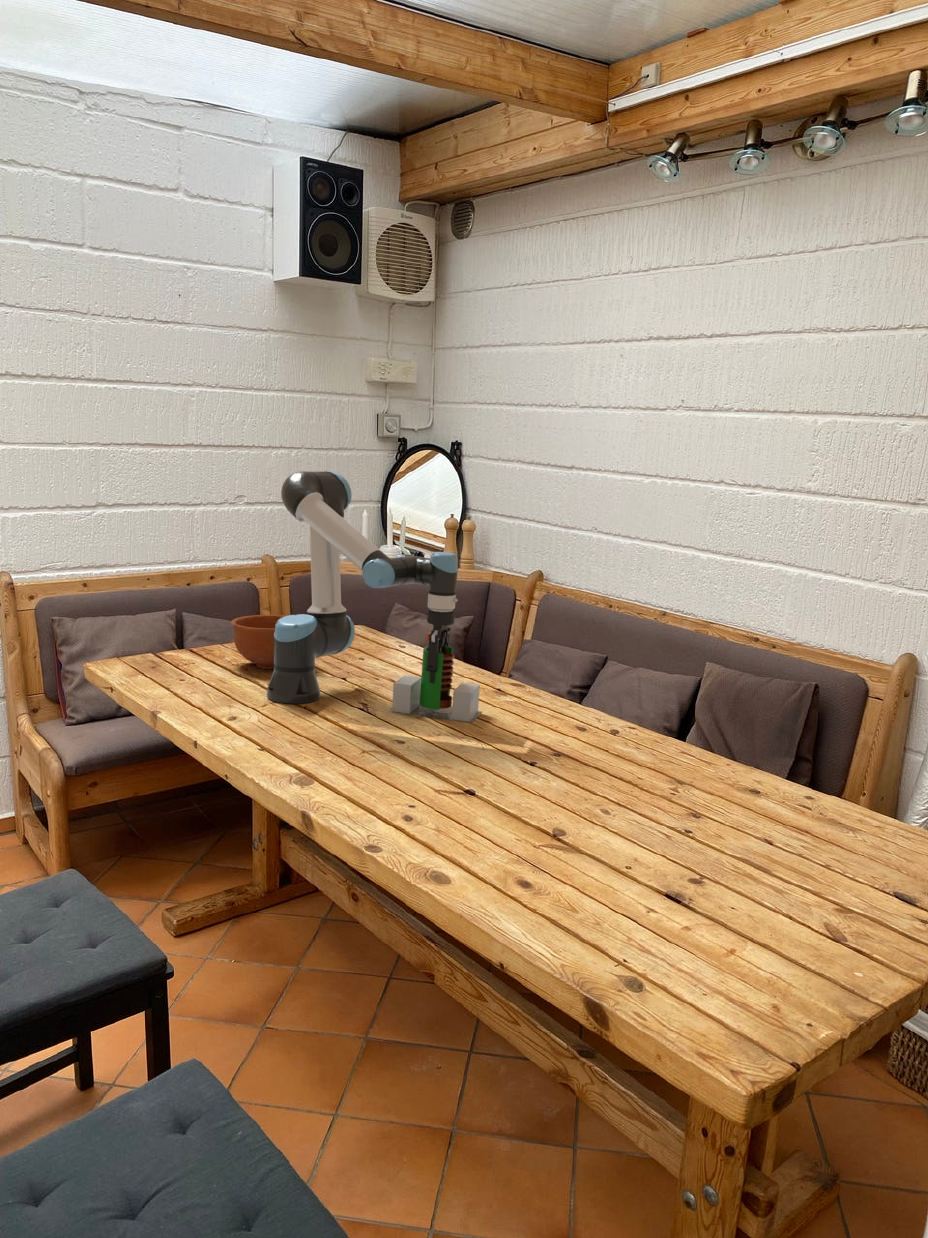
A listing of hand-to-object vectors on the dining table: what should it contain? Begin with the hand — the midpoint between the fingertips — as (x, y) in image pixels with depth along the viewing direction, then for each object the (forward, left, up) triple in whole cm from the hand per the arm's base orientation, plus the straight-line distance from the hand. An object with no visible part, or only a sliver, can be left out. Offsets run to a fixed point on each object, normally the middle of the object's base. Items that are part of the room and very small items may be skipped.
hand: (436, 690), depth 264 cm
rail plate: (0, 0, -8) cm, 8 cm away
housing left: (-8, 0, -6) cm, 10 cm away
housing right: (+9, 0, -6) cm, 11 cm away
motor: (0, 0, -4) cm, 4 cm away
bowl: (-65, +32, -8) cm, 73 cm away
